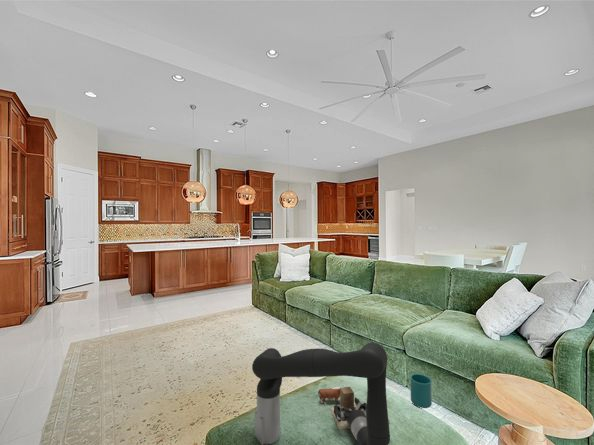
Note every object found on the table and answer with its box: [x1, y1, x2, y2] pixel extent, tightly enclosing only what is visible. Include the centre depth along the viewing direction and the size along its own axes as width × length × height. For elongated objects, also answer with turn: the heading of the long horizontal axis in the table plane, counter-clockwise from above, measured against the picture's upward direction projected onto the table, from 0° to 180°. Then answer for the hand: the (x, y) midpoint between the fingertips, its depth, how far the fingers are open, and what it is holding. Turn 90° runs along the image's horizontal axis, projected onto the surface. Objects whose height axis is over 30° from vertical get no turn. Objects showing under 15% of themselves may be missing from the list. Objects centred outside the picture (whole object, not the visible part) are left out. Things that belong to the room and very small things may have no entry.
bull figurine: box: [317, 386, 343, 405], centre depth 130 cm, size 4×13×8 cm, turn 89°
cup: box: [410, 373, 433, 409], centre depth 132 cm, size 9×12×11 cm
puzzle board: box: [330, 402, 391, 431], centre depth 120 cm, size 22×12×2 cm, turn 100°
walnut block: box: [339, 386, 355, 421], centre depth 119 cm, size 4×4×12 cm
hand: (345, 400), depth 121 cm, fingers open, 8 cm apart
